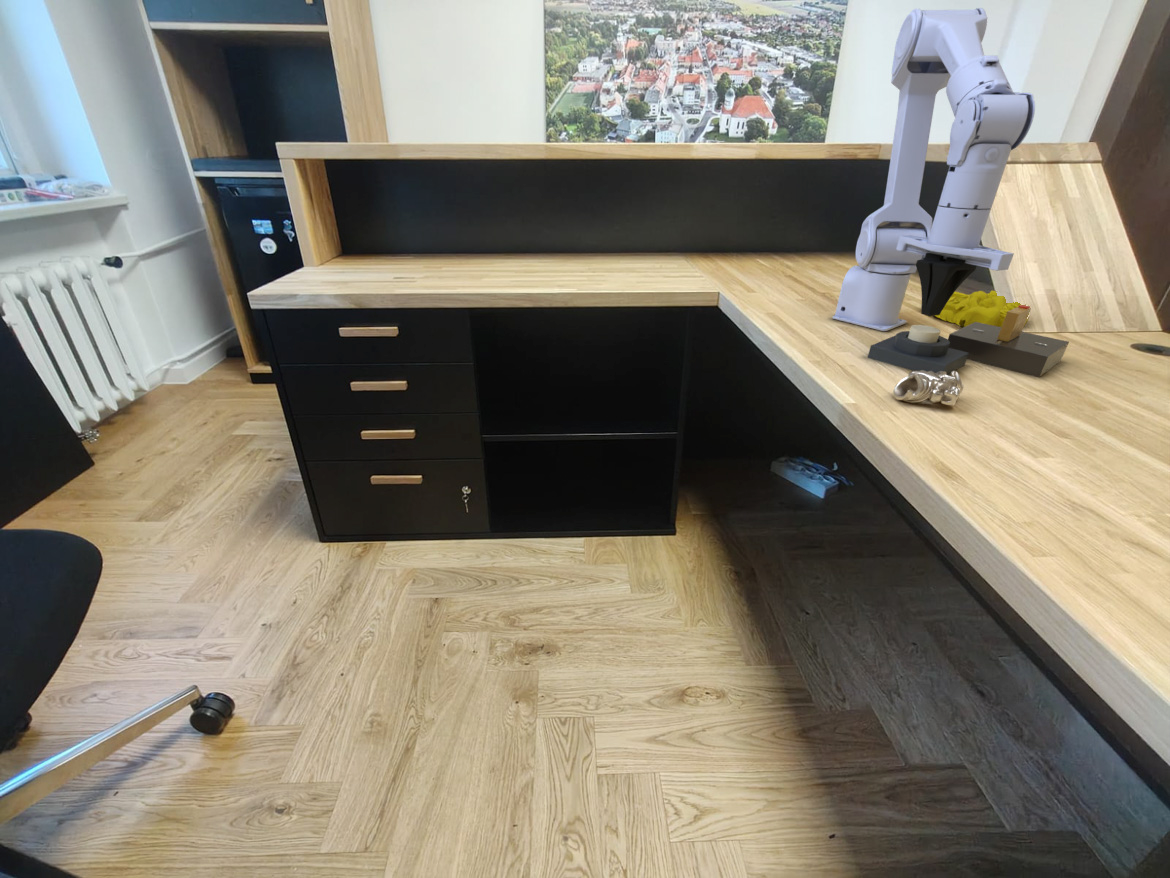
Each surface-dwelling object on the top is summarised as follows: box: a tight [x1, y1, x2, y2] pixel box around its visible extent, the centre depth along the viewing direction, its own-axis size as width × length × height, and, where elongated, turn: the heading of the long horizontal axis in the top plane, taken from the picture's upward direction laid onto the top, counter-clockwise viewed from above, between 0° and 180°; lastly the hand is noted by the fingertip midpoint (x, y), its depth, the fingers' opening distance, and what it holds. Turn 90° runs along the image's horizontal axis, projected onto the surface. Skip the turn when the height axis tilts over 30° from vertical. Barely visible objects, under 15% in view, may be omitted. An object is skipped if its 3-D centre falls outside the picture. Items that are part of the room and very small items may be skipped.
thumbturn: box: [997, 304, 1032, 342], centre depth 78 cm, size 5×1×4 cm, turn 129°
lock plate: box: [947, 322, 1070, 378], centre depth 80 cm, size 12×10×3 cm
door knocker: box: [935, 290, 1030, 328], centre depth 99 cm, size 16×16×4 cm
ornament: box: [892, 370, 964, 406], centre depth 66 cm, size 8×7×4 cm
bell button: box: [908, 324, 941, 343], centre depth 77 cm, size 4×4×2 cm
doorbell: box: [867, 330, 969, 376], centre depth 78 cm, size 10×8×4 cm
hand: (930, 314), depth 76 cm, fingers closed
